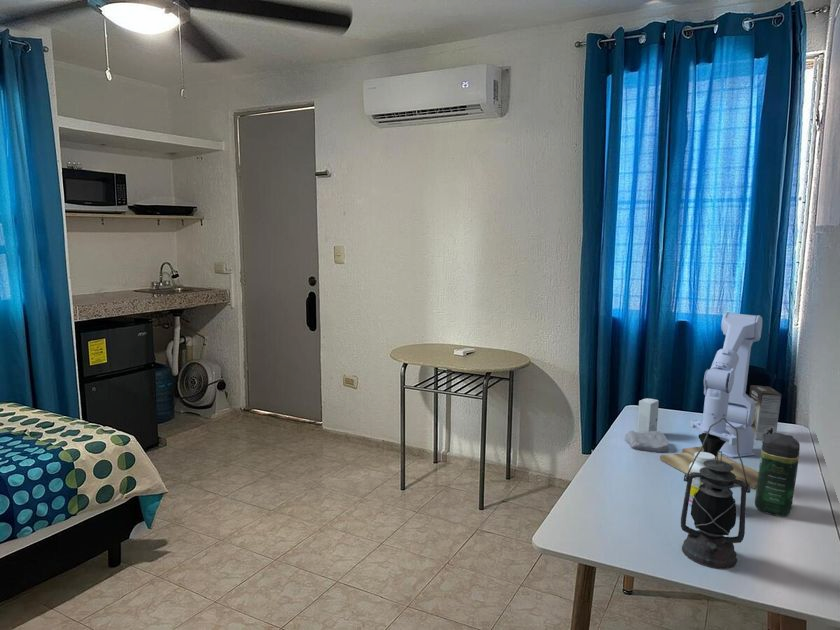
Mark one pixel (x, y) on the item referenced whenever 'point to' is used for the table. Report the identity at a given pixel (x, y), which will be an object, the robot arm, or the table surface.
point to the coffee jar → (777, 474)
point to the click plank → (680, 461)
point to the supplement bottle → (695, 468)
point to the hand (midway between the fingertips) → (710, 460)
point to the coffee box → (765, 410)
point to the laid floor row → (738, 470)
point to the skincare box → (647, 415)
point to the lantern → (714, 513)
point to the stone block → (648, 441)
